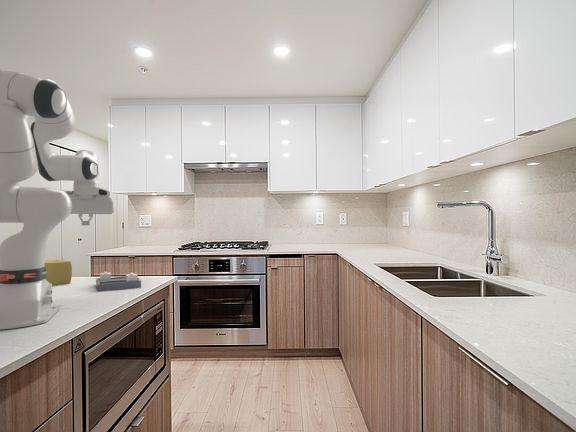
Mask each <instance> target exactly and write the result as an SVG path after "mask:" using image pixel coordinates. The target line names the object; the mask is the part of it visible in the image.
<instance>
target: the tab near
mask: <svg viewBox="0 0 576 432" xmlns="http://www.w3.org/2000/svg"><path fill="white" fill-rule="evenodd" d="M125 276H126V282H128V281H137V277H138V274H137V273H134V272H130V273H127V274H125Z"/></svg>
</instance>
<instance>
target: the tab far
mask: <svg viewBox="0 0 576 432" xmlns="http://www.w3.org/2000/svg"><path fill="white" fill-rule="evenodd" d="M111 277H112V274H111V272H107V271H105V270H103V272H100V273H99V278H100V280H111Z"/></svg>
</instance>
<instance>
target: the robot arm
mask: <svg viewBox="0 0 576 432" xmlns="http://www.w3.org/2000/svg"><path fill="white" fill-rule="evenodd" d="M29 117H33V118H34V121H33V122H32V123H31V125H30V124H29V121H28V120H29ZM75 128H76V116H75V113H74V111H73V107H72V106H71V104H70V102H69V100H68V98H67V94H66V92H65V90H64V89H63V88H62V87H61V85H60V84H58V83H57V82H56V81H54V80H51V79H49V78H39V77H37V76H33V75H30V74H25V73H22V72H17V71H11V70H2V69H0V223H1V224H5V223H7V224H8V223H9V224H10V223H11V224H12V223H13V224H17V223H18V224H23V227H22V229H21V230H20V232H17V233H15V234H13V235H10V236H8V237H7V238H5V239H4V240H3V241H2V242H1V243H0V330H9V329H10V330H11V329H16V328H17V329H18V328H22V327H23V328H24V327H25V328H26V327H30V326H31V327H32V326H36V325H41V324H45V323H47V322H49V320H50V319H51V318H53V316H54V315H55V314H56V313H57V312H58V311H60V306H59V305H53V285H52V284H50V283H49V282H48V281H47V280H46V279H45V278H46V273H47V270H46V267H45V261H46V260H45V259H46V258H45V256H46V245H47V241H48V238H49V236H50V234H51V233H52V232H53V230H54V229H55V228H56V227H57V226H58V225H59V224H60V223H61V222H63V221H65V220H66V219H68V217H69V216H70V214H71V215H78V216H77V217H78V219H79V220H80V221H81V226H90V225H91V223H90V222H91V220H92V219H93V218H94V215H112V214H114V211H115V210H114V202H113V199H112V197H110V196H111V191H109V190H108V189H104V188H100V187H99V181H98V177H99V173H100V172H99V170H100V169H99V159H98V156H97V155H98V154H97V153H96V152H93V151H91V150H87V149H86V150H85V149H80V150H77V151H76V152H75V155H74V154H73V155H70V154H69V155H68V154H57V153H54V152H52V150H51V146H50V142H53V141H57V140H62V139H63V138H66V137H67V136H69V135H70V134H72V132H73V131H74V129H75ZM37 172H38V174H39V175H40V176H41V177H42V178H43V179H44V180H46V181H48V182H56V181H59V182H60V181H63V182H64V181H68V182H69V181H71V182H72V181H73V185H72V186H73V190H61V189H56V188H51V187H35V186H34V187H32V186H31V187H30V186H26V187H25V186H21V185H19V183H20V182H23V181H26V180H28V179H30V178H31V177H34V175H35V174H36V173H37ZM83 215H88V217H89V218H88V220H84V219H83Z"/></svg>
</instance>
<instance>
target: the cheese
mask: <svg viewBox="0 0 576 432" xmlns="http://www.w3.org/2000/svg"><path fill="white" fill-rule="evenodd" d="M45 267H46V270H47V273H46V278H45V279H46V280H47V281H48V282H49V283H50V284H52V286H59V285H64V284H65V285H66V284H71V281H72V275H73V268H72V267H73V266H72V263H71V261H70V260H66V259H63V258H62V259H60V258H58V259H57V258H56V259H49V260H45Z"/></svg>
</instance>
